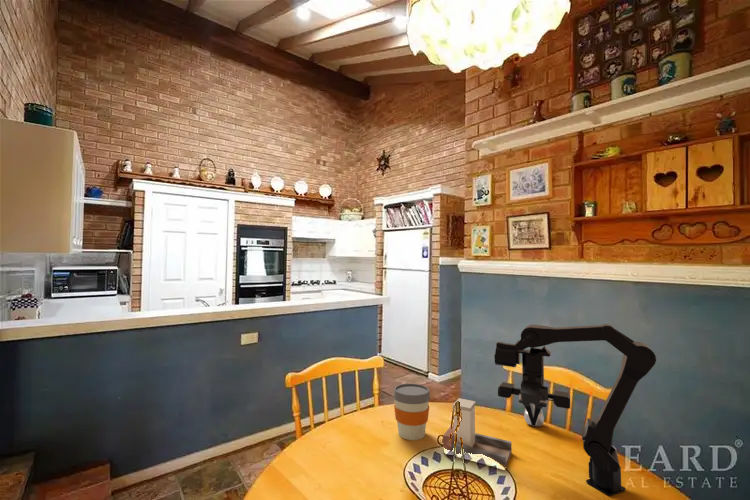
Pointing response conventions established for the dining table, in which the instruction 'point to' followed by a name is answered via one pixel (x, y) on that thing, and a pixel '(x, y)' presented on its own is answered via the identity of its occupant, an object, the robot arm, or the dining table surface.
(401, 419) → the reusable coffee cup
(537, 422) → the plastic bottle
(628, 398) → the robot arm
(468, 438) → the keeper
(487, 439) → the track
